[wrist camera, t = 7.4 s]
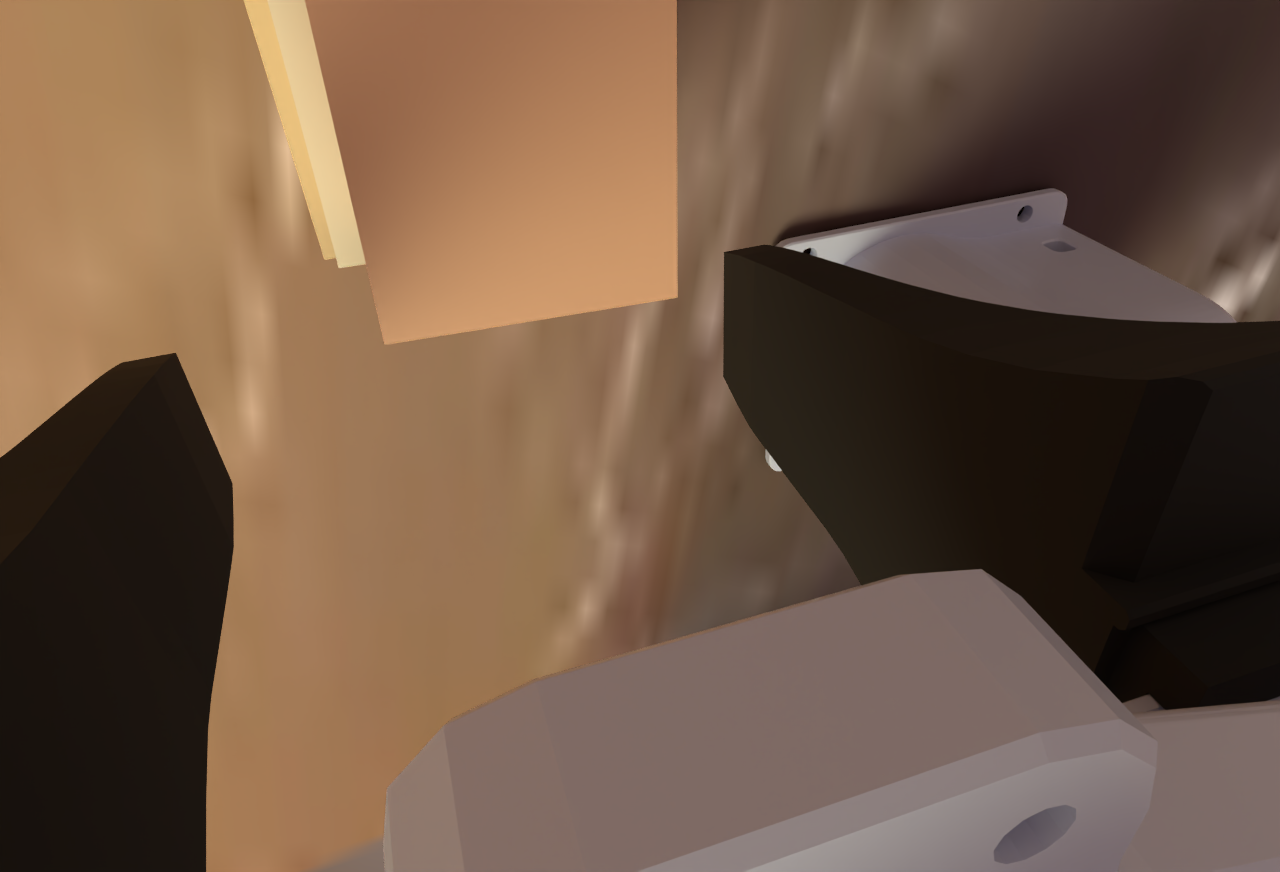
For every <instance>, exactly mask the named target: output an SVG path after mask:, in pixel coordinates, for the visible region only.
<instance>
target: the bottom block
mask: <svg viewBox="0 0 1280 872" xmlns="http://www.w3.org/2000/svg"><path fill="white" fill-rule="evenodd" d="M244 3H245V6H246V9H247V13H248V16H249V19H250V22H251V25H252V29H253V32H254V35H255V38H256V41H257V45H258V48H259V51H260V54H261V58H262V61H263V64H264V67H265V70H266V74H267V77H268V80H269V83H270V86H271V90H272V93H273V96H274V99H275V102H276V106H277V109H278V112H279V115H280V119H281V122H282V125H283V128H284V131H285V135H286V138H287V141H288V144H289V147H290V151H291V154H292V157H293V160H294V163H295V167H296V170H297V173H298V176H299V180H300V183H301V186H302V189H303V192H304V196H305V199H306V202H307V205H308V208H309V212H310V215H311V218H312V221H313V225H314V228H315V231H316V234H317V237H318V241H319V244H320V247H321V250H322V253H323V257H324V260H326V259H332V258H336V255H335V252H334V248H333V244H332V240H331V237H330V233H329V229H328V225H327V222H326V218H325V214H324V210H323V207H322V203H321V199H320V196H319V192H318V188H317V184H316V181H315V177H314V173H313V169H312V166H311V162H310V158H309V154H308V151H307V147H306V143H305V139H304V136H303V132H302V128H301V124H300V121H299V117H298V113H297V109H296V106H295V102H294V98H293V95H292V91H291V87H290V83H289V80H288V76H287V72H286V68H285V65H284V61H283V57H282V53H281V50H280V46H279V42H278V38H277V35H276V31H275V27H274V23H273V20H272V16H271V12H270V9H269V5H268V1H267V0H244Z"/></svg>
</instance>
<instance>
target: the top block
mask: <svg viewBox="0 0 1280 872" xmlns="http://www.w3.org/2000/svg"><path fill="white" fill-rule="evenodd" d="M267 1H268V5H269V9H270V12H271V16H272V20H273V23H274V27H275V31H276V35H277V38H278V42H279V46H280V50H281V53H282V57H283V61H284V65H285V68H286V72H287V76H288V80H289V83H290V87H291V91H292V95H293V98H294V102H295V106H296V109H297V113H298V117H299V121H300V124H301V128H302V132H303V136H304V139H305V143H306V147H307V151H308V154H309V158H310V162H311V166H312V169H313V173H314V177H315V181H316V184H317V188H318V192H319V196H320V199H321V203H322V207H323V210H324V214H325V218H326V222H327V225H328V229H329V233H330V237H331V240H332V244H333V248H334V252H335V255H336V259H337V263H338V267H339V268H343V267H350V266H356V265H363V264H366V262H365V258H364V254H363V249H362V245H361V241H360V237H359V232H358V228H357V224H356V219H355V215H354V211H353V206H352V202H351V198H350V193H349V189H348V185H347V180H346V176H345V172H344V167H343V163H342V159H341V154H340V150H339V146H338V142H337V137H336V133H335V129H334V124H333V120H332V116H331V111H330V107H329V103H328V98H327V94H326V90H325V85H324V81H323V77H322V72H321V68H320V64H319V60H318V55H317V51H316V47H315V42H314V38H313V34H312V29H311V25H310V21H309V16H308V12H307V8H306V3H305V0H267Z"/></svg>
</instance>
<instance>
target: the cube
mask: <svg viewBox="0 0 1280 872" xmlns="http://www.w3.org/2000/svg"><path fill="white" fill-rule="evenodd" d="M305 3H306V8H307V12H308V16H309V21H310V25H311V29H312V34H313V38H314V42H315V47H316V51H317V55H318V60H319V64H320V68H321V72H322V77H323V81H324V85H325V90H326V94H327V98H328V103H329V107H330V111H331V116H332V120H333V124H334V129H335V133H336V137H337V142H338V146H339V150H340V154H341V159H342V163H343V167H344V172H345V176H346V180H347V185H348V189H349V193H350V198H351V202H352V206H353V211H354V215H355V219H356V224H357V228H358V232H359V237H360V241H361V245H362V249H363V254H364V258H365V262H366V267H367V271H368V275H369V280H370V284H371V288H372V293H373V297H374V301H375V306H376V310H377V314H378V319H379V323H380V327H381V331H382V336H383V340H384V344H385V345H387V344H393V343H400V342H406V341H412V340H418V339H424V338H431V337H437V336H443V335H449V334H455V333H462V332H468V331H474V330H480V329H486V328H492V327H499V326H505V325H511V324H517V323H523V322H530V321H536V320H542V319H548V318H554V317H561V316H567V315H573V314H579V313H585V312H592V311H598V310H604V309H610V308H616V307H623V306H629V305H635V304H641V303H647V302H653V301H660V300H666V299H672V298H677V0H305Z"/></svg>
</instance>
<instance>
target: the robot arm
mask: <svg viewBox="0 0 1280 872" xmlns="http://www.w3.org/2000/svg"><path fill="white" fill-rule="evenodd" d="M1022 207H1024V210H1023V212H1022V213H1021V214H1020V216H1018V217H1017V215H1018V212H1019V211H1020V210H1021V208H1022ZM1066 208H1067V197H1066V194H1064V193H1063V192H1061V191H1059V190H1057V189H1055V188H1049V189H1043V190H1038V191H1033V192H1028V193H1023V194H1017V195H1012V196H1007V197H1002V198H997V199H991V200H986V201H981V202H976V203H970V204H965V205H960V206H955V207H950V208H944V209H939V210H934V211H929V212H923V213H918V214H913V215H908V216H903V217H897V218H892V219H887V220H882V221H877V222H871V223H866V224H861V225H856V226H850V227H845V228H840V229H835V230H830V231H824V232H819V233H814V234H809V235H804V236H798V237H793V238H788V239H785V240H783V241H781V242H779V243H778V244H777V245H776V246H771V245H760V246H755V247H749V248H744V249H739V250H733V251H728V252H724V367H723V377H724V379H725V381H726V383H727V385H728V387H729V389H730V391H731V393H732V395H733V397H734V399H735V401H736V403H737V405H738V406H739V408H740V410H741V412H742V414H743V415H744V417H745V419H746V421H747V423H748V425H749V426H750V428H751V429H752V431H753V432H754V434H755V435H756V436H757V438H758V439H759V440H760V442H761V443H762V445H763V446H764V447H765V449H766V456H765V457H766V462H767V463H768V464H769V466H770V467H771V468H772V469H773V470H776V471H783V473H784V474H785V475H786V477H787V478H788V479H789V481H790V482H791V483H792V485H793V486H794V487H795V489H796V490H797V491H798V492H799V494H800V495H801V496H802V498H803V499H804V500H805V502H806V503H807V504H808V506H809V507H810V508H811V510H812V511H813V512H814V514H815V515H816V516H817V518H818V519H819V520H820V522H821V523H822V524H823V525H824V527H825V528H826V529H827V531H828V532H829V534H830V535H831V537H832V538H833V540H834V541H835V543H836V544H837V545H838V547H839V548H840V550H841V551H842V553H843V554H844V556H845V558H846V559H847V561H848V563H849V565H850V566H851V568H852V570H853V571H854V573H855V575H856V577H857V578H858V580H859V582H860V583H861V585H862V586H858V587H855V588H851V589H848V590H844V591H841V592H837V593H834V594H830V595H827V596H823V597H820V598H816V599H813V600H809V601H806V602H802V603H799V604H795V605H792V606H788V607H785V608H781V609H778V610H774V611H771V612H767V613H764V614H760V615H757V616H753V617H750V618H746V619H743V620H739V621H736V622H732V623H729V624H725V625H722V626H718V627H715V628H711V629H708V630H704V631H701V632H697V633H694V634H690V635H687V636H683V637H680V638H676V639H673V640H669V641H666V642H662V643H659V644H655V645H652V646H648V647H645V648H641V649H638V650H634V651H631V652H627V653H624V654H620V655H617V656H613V657H610V658H606V659H603V660H599V661H596V662H592V663H589V664H585V665H582V666H578V667H575V668H571V669H568V670H564V671H561V672H557V673H554V674H550V675H547V676H543V677H540V678H536V679H533V680H531V681H529V682H527V683H525V684H523V685H521V686H519V687H517V688H515V689H512V690H510V691H508V692H506V693H504V694H502V695H500V696H498V697H496V698H494V699H492V700H489V701H487V702H485V703H483V704H481V705H479V706H477V707H475V708H473V709H471V710H468V711H466V712H464V713H462V714H460V715H458V716H456V717H454V718H453V719H451V720H450V721H449V722H448V723H446V724H445V725H444V726H443V727H442V728H441V729H440V730H439V731H438V732H437V733H436V735H435V736H434V737H433V738H432V739H431V740H430V741H429V742H428V743H427V744H426V746H425V747H424V748H423V749H422V750H421V751H420V752H419V753H418V754H417V756H416V757H415V758H414V759H413V760H412V761H411V762H410V763H409V764H408V765H407V767H406V768H405V769H404V770H403V771H402V772H401V773H400V774H399V775H398V777H397V778H396V779H395V780H394V781H393V782H392V783H391V784H390V785H389V786H388V788H387V796H386V811H385V825H384V840H383V851H384V866H385V872H1280V321H1267V322H1236V321H1235V320H1234V319H1233V317H1232V316H1231V315H1230V314H1229V313H1227V312H1226V311H1225V310H1224V309H1223V308H1222V307H1220V306H1219V305H1218V304H1216V303H1215V302H1213V301H1212V300H1210V299H1209V298H1207V297H1205V296H1203V295H1201V294H1199V293H1197V292H1195V291H1193V290H1191V289H1189V288H1187V287H1186V286H1184V285H1182V284H1180V283H1178V282H1176V281H1174V280H1172V279H1170V278H1168V277H1166V276H1164V275H1162V274H1160V273H1158V272H1156V271H1154V270H1152V269H1150V268H1148V267H1146V266H1144V265H1142V264H1140V263H1138V262H1136V261H1134V260H1132V259H1130V258H1128V257H1126V256H1124V255H1122V254H1120V253H1118V252H1116V251H1114V250H1112V249H1110V248H1108V247H1106V246H1104V245H1102V244H1100V243H1098V242H1096V241H1094V240H1092V239H1090V238H1088V237H1086V236H1084V235H1082V234H1080V233H1078V232H1076V231H1074V230H1072V229H1071V228H1069V227H1067V226H1065V225H1062V224H1063V220H1064V216H1065V212H1066ZM808 248H811V252H810V255H809V254H806V253H802V252H803V251H804V250H805V249H808ZM233 548H234V541H233V488H232V482H231V479H230V477H229V475H228V472H227V470H226V468H225V465H224V463H223V461H222V458H221V456H220V454H219V452H218V449H217V447H216V445H215V442H214V440H213V438H212V435H211V433H210V431H209V428H208V426H207V424H206V422H205V419H204V417H203V415H202V412H201V410H200V408H199V405H198V403H197V401H196V398H195V396H194V394H193V392H192V389H191V387H190V385H189V382H188V380H187V378H186V375H185V373H184V371H183V369H182V366H181V364H180V362H179V359H178V357H177V355H176V353H172V354H167V355H161V356H156V357H150V358H145V359H139V360H134V361H128V362H123V363H121V364H119V365H117V366H115V367H114V368H112V369H110V370H109V371H108V372H106V373H105V374H103V375H102V376H101V377H99V378H98V379H97V380H95V381H94V382H93V383H92V384H90V385H89V386H88V387H87V388H85V389H84V390H83V391H82V392H80V393H79V394H78V395H77V396H75V397H74V398H73V399H72V400H71V401H69V402H68V403H67V404H66V405H65V406H63V407H62V408H61V409H60V410H59V411H57V412H56V413H55V414H54V415H53V416H51V417H50V418H49V419H48V420H47V421H45V422H44V423H43V424H42V425H41V426H39V427H38V428H37V429H36V430H34V431H33V432H32V433H31V434H30V435H28V436H27V437H26V438H25V439H24V440H22V441H21V442H20V443H19V444H18V445H16V446H15V447H14V448H13V449H11V450H10V451H9V452H7V453H6V454H5V455H3V456H2V457H1V458H0V872H206V784H207V745H208V723H209V713H210V703H211V694H212V688H213V681H214V675H215V668H216V662H217V655H218V649H219V642H220V636H221V630H222V623H223V617H224V610H225V604H226V597H227V591H228V584H229V577H230V570H231V563H232V555H233Z"/></svg>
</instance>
